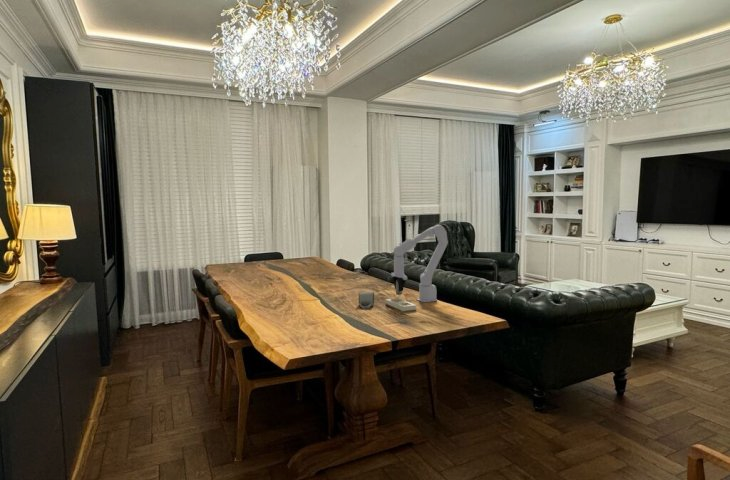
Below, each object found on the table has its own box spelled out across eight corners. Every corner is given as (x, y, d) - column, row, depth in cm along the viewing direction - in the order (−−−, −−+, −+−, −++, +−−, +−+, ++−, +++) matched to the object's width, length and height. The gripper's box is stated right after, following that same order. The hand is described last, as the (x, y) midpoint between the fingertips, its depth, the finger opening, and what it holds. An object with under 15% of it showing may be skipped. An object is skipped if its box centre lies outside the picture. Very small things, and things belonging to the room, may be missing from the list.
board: (398, 303, 236) (398, 297, 236) (416, 310, 220) (416, 305, 220) (385, 304, 232) (385, 299, 232) (403, 312, 216) (403, 306, 216)
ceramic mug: (359, 303, 235) (359, 290, 234) (374, 303, 234) (374, 290, 233) (357, 308, 225) (357, 294, 224) (372, 309, 224) (372, 295, 223)
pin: (399, 293, 245) (399, 279, 244) (403, 294, 242) (403, 280, 241) (394, 293, 243) (394, 280, 243) (397, 295, 240) (397, 281, 240)
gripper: (386, 265, 246) (386, 288, 247) (399, 269, 233) (399, 293, 234) (396, 264, 249) (397, 287, 250) (410, 268, 236) (410, 292, 237)
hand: (399, 290), depth 242 cm, fingers closed on pin, 3 cm apart
